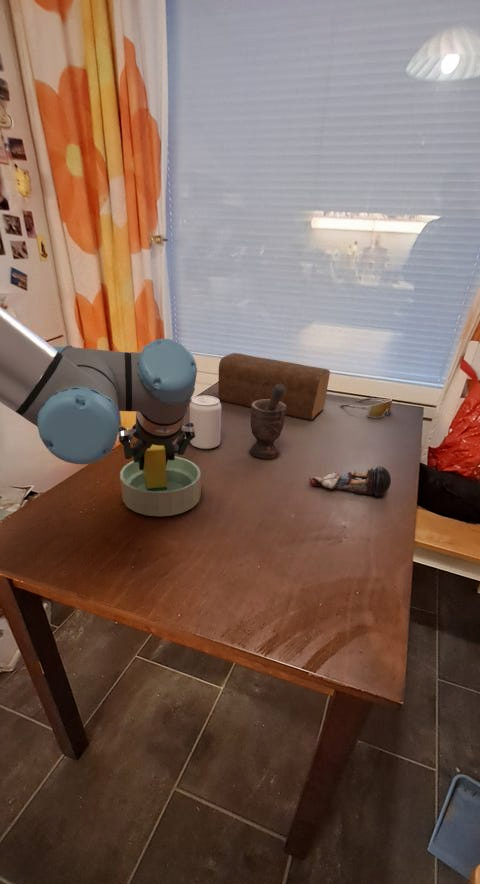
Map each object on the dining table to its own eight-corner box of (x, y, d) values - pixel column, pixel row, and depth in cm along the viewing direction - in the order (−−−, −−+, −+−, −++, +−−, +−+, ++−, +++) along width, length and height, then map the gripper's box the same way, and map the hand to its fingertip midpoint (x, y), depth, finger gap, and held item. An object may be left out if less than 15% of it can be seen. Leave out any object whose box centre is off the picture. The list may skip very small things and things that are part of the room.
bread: (312, 422, 131) (320, 375, 123) (216, 400, 142) (217, 356, 134) (324, 409, 142) (332, 365, 133) (234, 390, 152) (236, 348, 144)
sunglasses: (374, 421, 135) (376, 405, 132) (336, 413, 144) (337, 398, 142) (398, 412, 143) (400, 397, 140) (360, 406, 153) (361, 391, 150)
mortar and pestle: (294, 461, 108) (305, 382, 96) (267, 468, 103) (275, 387, 92) (267, 444, 115) (275, 369, 103) (241, 450, 111) (246, 373, 99)
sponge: (147, 492, 85) (144, 451, 80) (143, 478, 90) (140, 438, 84) (167, 490, 86) (165, 449, 81) (162, 476, 91) (160, 437, 85)
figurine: (393, 471, 89) (308, 464, 94) (389, 501, 91) (306, 493, 96) (392, 464, 96) (313, 459, 101) (388, 493, 98) (311, 486, 103)
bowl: (112, 514, 83) (108, 488, 80) (135, 476, 96) (133, 452, 93) (193, 522, 83) (193, 496, 79) (205, 482, 96) (205, 458, 93)
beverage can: (204, 453, 108) (204, 407, 101) (183, 443, 113) (182, 399, 106) (226, 444, 113) (228, 401, 106) (205, 435, 118) (206, 392, 111)
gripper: (107, 441, 64) (112, 483, 86) (215, 434, 69) (193, 476, 91) (101, 395, 65) (107, 449, 87) (208, 391, 70) (188, 443, 92)
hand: (151, 463), depth 89 cm, fingers closed on sponge, 4 cm apart
